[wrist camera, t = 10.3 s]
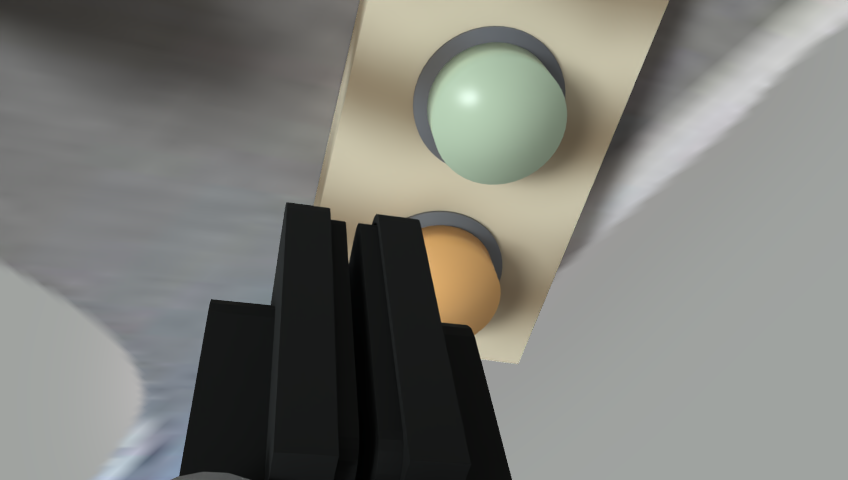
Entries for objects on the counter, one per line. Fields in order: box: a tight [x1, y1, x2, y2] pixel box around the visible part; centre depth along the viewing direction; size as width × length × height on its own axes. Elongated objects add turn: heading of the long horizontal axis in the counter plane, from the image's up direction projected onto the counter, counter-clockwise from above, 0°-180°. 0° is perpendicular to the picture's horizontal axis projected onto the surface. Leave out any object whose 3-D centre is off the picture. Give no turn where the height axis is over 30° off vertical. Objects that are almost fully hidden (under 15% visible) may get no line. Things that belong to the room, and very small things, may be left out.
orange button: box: [422, 225, 501, 335], centre depth 34 cm, size 5×5×2 cm
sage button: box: [427, 42, 567, 185], centre depth 30 cm, size 5×5×2 cm
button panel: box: [314, 0, 669, 364], centre depth 32 cm, size 25×11×3 cm, turn 165°
